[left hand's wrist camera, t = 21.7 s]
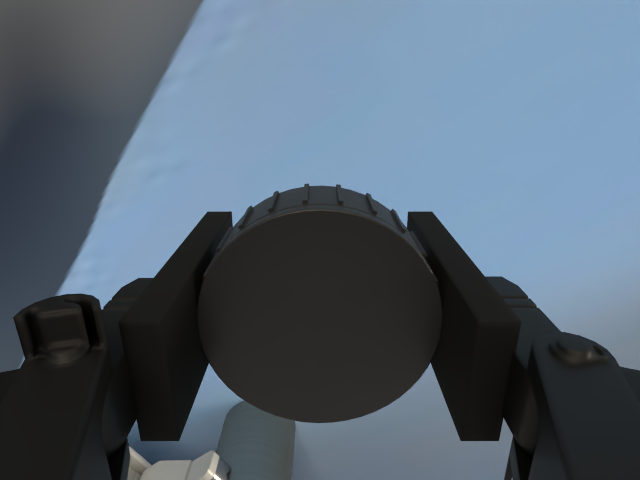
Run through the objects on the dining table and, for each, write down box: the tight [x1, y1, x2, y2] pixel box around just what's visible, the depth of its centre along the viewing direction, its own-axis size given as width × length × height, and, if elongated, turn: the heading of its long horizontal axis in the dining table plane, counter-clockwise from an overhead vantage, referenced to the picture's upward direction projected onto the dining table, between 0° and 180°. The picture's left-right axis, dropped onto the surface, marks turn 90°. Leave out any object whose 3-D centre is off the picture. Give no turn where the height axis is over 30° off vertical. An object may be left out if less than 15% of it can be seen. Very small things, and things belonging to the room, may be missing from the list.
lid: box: [197, 184, 443, 423], centre depth 11 cm, size 6×6×2 cm
